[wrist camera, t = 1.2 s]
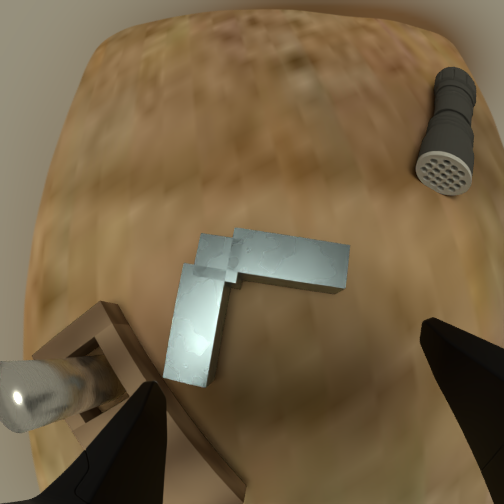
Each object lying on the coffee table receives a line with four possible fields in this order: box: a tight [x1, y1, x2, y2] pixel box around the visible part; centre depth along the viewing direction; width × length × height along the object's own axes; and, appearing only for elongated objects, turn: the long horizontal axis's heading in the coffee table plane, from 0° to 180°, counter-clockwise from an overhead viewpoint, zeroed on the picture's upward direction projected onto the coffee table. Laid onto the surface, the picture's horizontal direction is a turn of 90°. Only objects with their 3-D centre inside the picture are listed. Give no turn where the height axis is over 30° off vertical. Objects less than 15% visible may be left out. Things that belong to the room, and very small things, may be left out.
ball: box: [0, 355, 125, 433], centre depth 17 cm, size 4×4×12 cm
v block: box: [163, 228, 350, 388], centre depth 22 cm, size 9×16×4 cm, turn 125°
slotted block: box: [32, 301, 246, 504], centre depth 20 cm, size 19×9×3 cm, turn 35°
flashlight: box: [416, 67, 476, 195], centre depth 24 cm, size 15×5×5 cm, turn 153°
